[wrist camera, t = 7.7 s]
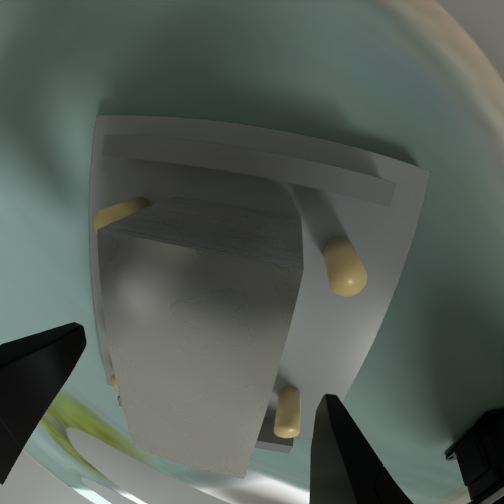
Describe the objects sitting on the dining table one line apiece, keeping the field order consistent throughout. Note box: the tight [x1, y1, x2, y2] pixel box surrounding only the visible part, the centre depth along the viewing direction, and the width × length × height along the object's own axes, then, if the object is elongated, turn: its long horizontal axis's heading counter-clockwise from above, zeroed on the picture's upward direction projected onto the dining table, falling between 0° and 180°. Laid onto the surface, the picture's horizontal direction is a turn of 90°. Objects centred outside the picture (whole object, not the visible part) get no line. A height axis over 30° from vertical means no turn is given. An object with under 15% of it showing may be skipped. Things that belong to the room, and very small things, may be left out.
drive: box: [97, 196, 304, 479], centre depth 10 cm, size 5×10×5 cm, turn 172°
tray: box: [89, 115, 431, 453], centre depth 12 cm, size 14×16×4 cm
